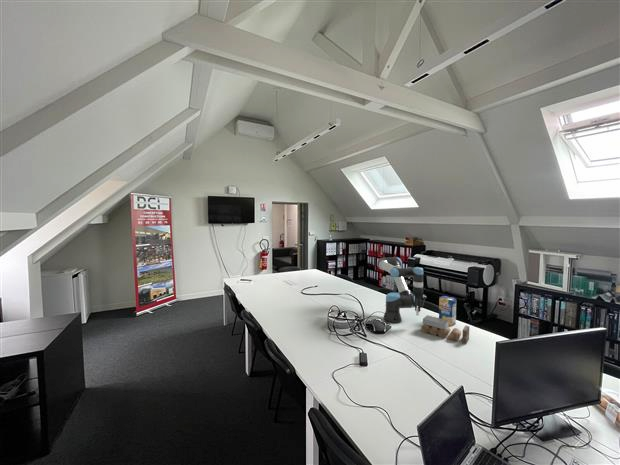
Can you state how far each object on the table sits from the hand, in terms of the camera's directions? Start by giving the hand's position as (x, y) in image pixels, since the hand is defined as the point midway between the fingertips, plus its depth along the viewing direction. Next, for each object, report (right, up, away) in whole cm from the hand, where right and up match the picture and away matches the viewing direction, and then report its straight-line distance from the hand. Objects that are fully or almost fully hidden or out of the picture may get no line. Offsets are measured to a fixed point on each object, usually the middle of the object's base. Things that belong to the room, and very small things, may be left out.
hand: (417, 315), depth 204 cm
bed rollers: (+10, -11, -9) cm, 17 cm away
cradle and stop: (+22, -12, -19) cm, 31 cm away
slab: (+10, -5, -9) cm, 14 cm away
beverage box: (+29, -10, +9) cm, 33 cm away
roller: (+18, -9, -16) cm, 26 cm away
